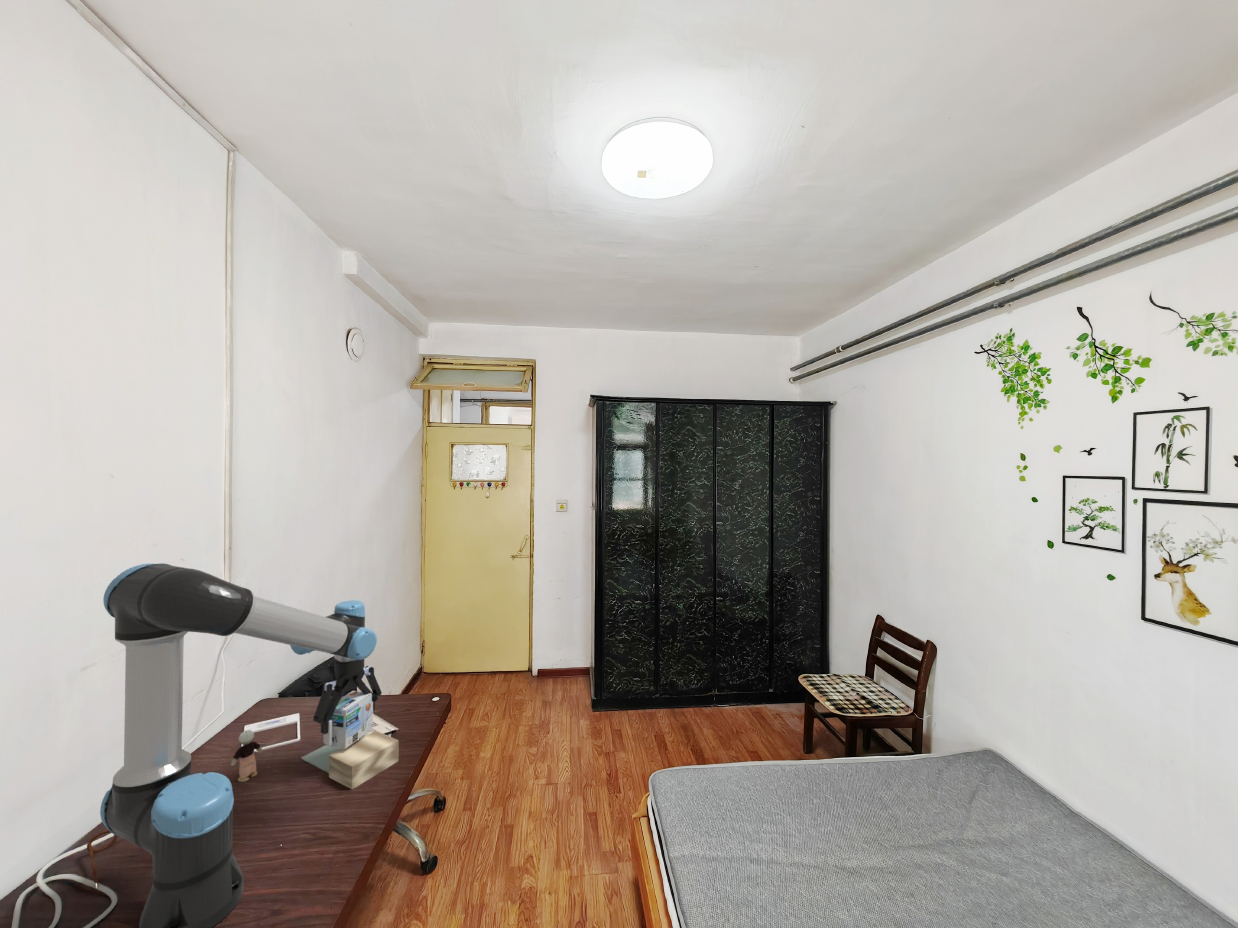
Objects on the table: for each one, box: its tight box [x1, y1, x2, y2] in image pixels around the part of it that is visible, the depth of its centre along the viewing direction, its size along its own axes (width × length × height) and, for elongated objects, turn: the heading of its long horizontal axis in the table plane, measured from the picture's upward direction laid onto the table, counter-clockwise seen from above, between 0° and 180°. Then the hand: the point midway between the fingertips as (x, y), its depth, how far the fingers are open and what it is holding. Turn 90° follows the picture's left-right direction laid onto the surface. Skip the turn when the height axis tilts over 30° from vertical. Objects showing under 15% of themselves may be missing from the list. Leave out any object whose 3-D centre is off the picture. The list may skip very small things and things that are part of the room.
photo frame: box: [240, 712, 301, 753], centre depth 155 cm, size 15×1×18 cm
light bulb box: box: [325, 690, 373, 749], centre depth 142 cm, size 11×7×11 cm, turn 168°
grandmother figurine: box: [230, 730, 264, 783], centre depth 134 cm, size 8×4×13 cm, turn 168°
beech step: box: [328, 731, 400, 790], centre depth 139 cm, size 14×10×6 cm
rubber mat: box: [300, 744, 342, 774], centre depth 145 cm, size 12×14×1 cm
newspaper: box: [359, 713, 400, 739], centre depth 159 cm, size 23×12×2 cm, turn 54°
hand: (349, 732), depth 142 cm, fingers closed on light bulb box, 11 cm apart
